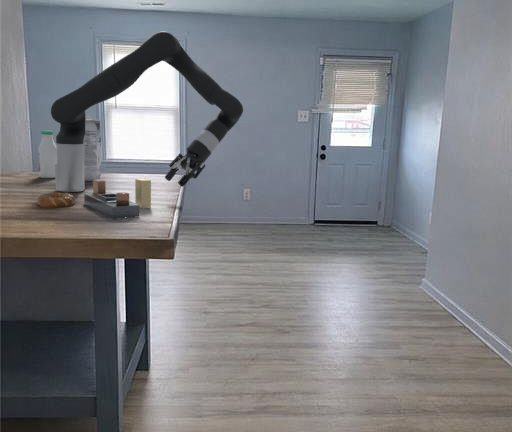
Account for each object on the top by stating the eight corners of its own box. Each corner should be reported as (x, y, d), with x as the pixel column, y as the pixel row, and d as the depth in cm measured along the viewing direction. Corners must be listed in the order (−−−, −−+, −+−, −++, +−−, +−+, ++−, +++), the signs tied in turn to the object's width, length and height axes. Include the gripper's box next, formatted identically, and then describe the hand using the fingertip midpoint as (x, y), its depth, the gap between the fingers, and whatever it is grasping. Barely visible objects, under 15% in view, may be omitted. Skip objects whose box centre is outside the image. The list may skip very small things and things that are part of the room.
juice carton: (95, 181, 194) (94, 116, 188) (71, 180, 194) (69, 115, 188) (103, 179, 203) (102, 116, 197) (79, 177, 203) (77, 115, 197)
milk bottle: (62, 177, 202) (61, 131, 198) (49, 179, 195) (47, 131, 190) (48, 175, 204) (46, 130, 200) (35, 177, 197) (32, 130, 193)
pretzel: (57, 210, 138) (57, 198, 137) (28, 206, 141) (27, 195, 140) (83, 203, 149) (83, 192, 148) (55, 200, 152) (54, 189, 151)
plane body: (84, 204, 147) (83, 179, 146) (108, 202, 152) (108, 178, 151) (112, 219, 129) (112, 191, 128) (139, 216, 134) (139, 189, 132)
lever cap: (135, 206, 148) (135, 178, 146) (145, 205, 150) (145, 178, 149) (141, 209, 145) (141, 180, 143) (151, 208, 147) (151, 180, 145)
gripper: (185, 135, 160) (155, 170, 156) (209, 142, 150) (178, 179, 146) (197, 150, 165) (169, 184, 161) (221, 157, 155) (191, 194, 151)
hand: (173, 182), depth 154 cm, fingers open, 8 cm apart
